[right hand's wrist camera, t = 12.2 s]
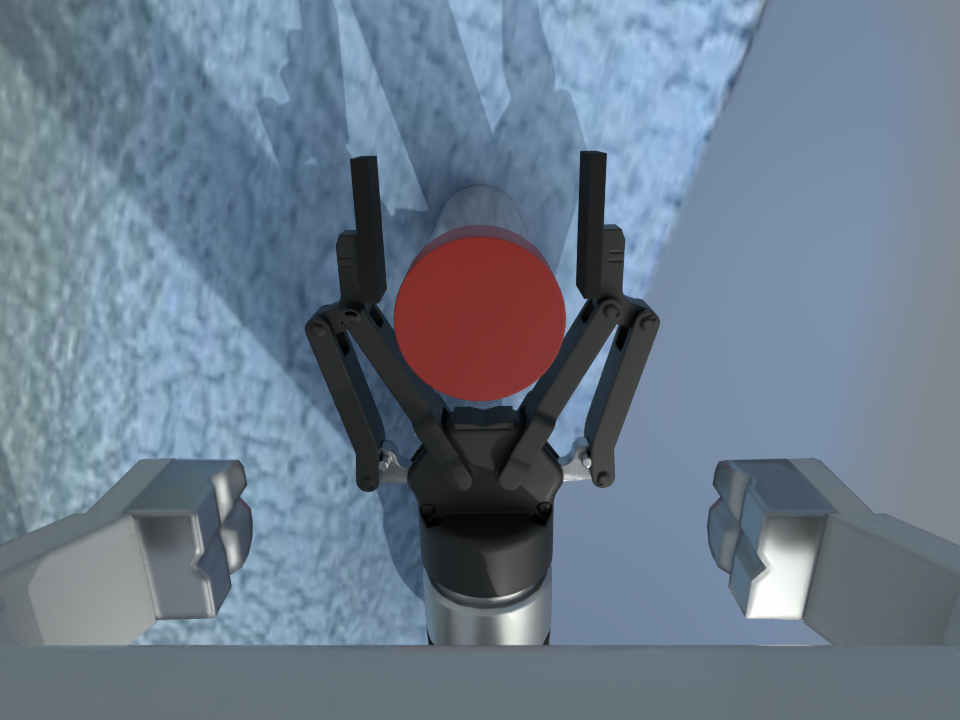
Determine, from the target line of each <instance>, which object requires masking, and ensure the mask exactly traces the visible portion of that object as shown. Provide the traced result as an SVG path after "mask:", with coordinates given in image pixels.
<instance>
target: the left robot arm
mask: <svg viewBox="0 0 960 720" xmlns="http://www.w3.org/2000/svg"><path fill="white" fill-rule="evenodd" d="M606 161H607V153H603V152H599V151H580V177H579V208H578V239H577V270H576V286H577V288H578V289H579V291H580V293H581V294H582V296H583V298H584V299H587V301H586V303H585V304H584V306H583V308H582V309H581V311H580V313H579V314H578V316H577V318H576V319H575V321H574V322H573V324H572V326H571V327H570V329H569V331H568V332H567V334H566V336H565V337H564V339H563V341H562V344H561V347H560V349H559V352H558V354H557V356H556V358H555V359H554V361H553V363H552V364H551V366H550V367H549V368H548V369H547V370H546V372H545V373H544V374H543V375H542V376H541V377H540V378H539V380H538V382H537V383H536V385H535V387H534V388H533V390H532V391H529V392H528V394H527V395H526V397H525V398H524V400H523V402H522V403H521V405H520V406H519V408H518V410H517V411H516V410H513V407H512V406H497V407H493V408H490V409H486V410H482V409H477V408H473V407H455V411H452V412H451V411H450V410H449V408H448V407H447V405H446V404H445V402H444V401H443V399H442V398H441V396H440V395H439V394H438V393H436V392H435V391H434V390H433V389H432V387H431V386H430V385H428V384H427V383H425V382H424V381H423V380H422V379H421V378H420V377H418V375H417V374H416V373H415V372H414V371H413V370H412V369H411V367H410V366H409V365H408V363H407V362H406V360H405V358H404V356H403V355H402V353H401V351H400V348H399V345H398V342H397V339H396V334H395V332H394V330H393V329H392V327H391V326H390V324H389V323H388V321H387V320H386V318H385V317H384V315H383V314H382V312H381V311H380V309H379V308H378V306H377V305H376V303H379V302H380V300H381V299H382V297H383V295H384V293H385V291H386V290H387V286H386V272H385V259H384V246H383V233H382V219H381V206H380V193H379V180H378V166H377V156H360V157H356V158H353V159H350V164H351V175H352V186H353V197H354V208H355V220H356V230H345V231H344V232H342V233H341V234H340V235H339V237H338V241H337V244H336V252H337V261H338V271H339V281H340V291H341V299H340V301H338V302H336V303H333V304H331V305H324V306H322V307H320V308H319V309H318V311H317V312H316V313H315V314H314V315H313V316H312V318H311V319H310V320H309V321H308V322H307V324H306V326H305V332H306V335H307V338H308V340H309V342H310V345H311V347H312V350H313V352H314V354H315V357H316V359H317V362H318V364H319V366H320V369H321V371H322V374H323V376H324V378H325V381H326V383H327V386H328V388H329V390H330V393H331V395H332V398H333V400H334V402H335V405H336V407H337V410H338V412H339V414H340V417H341V419H342V422H343V424H344V426H345V429H346V431H347V433H348V436H349V438H350V441H351V443H352V445H353V448H354V450H355V453H356V482H357V486H358V487H359V488H360V489H361V490H363V491H366V492H371V491H374V490H376V488H377V487H378V485H379V482H380V483H400V484H408V486H409V488H410V489H411V491H412V492H413V493H414V495H415V497H416V499H417V502H418V509H419V524H420V539H421V555H422V563H423V565H424V569H423V586H424V599H425V611H426V623H427V636H428V645H549V637H550V624H551V602H552V567H551V561H552V552H553V507H554V498H555V495H556V493H557V491H558V490H559V488H560V487H561V485H562V483H563V481H572V480H584V479H592V481H593V483H594V484H595V485H596V486H597V487H600V488H605V487H608V486H610V485H611V484H612V483H613V482H614V479H615V466H614V448H615V445H616V442H617V440H618V437H619V434H620V431H621V429H622V426H623V423H624V421H625V418H626V415H627V412H628V410H629V407H630V404H631V402H632V399H633V396H634V393H635V391H636V388H637V385H638V383H639V380H640V377H641V374H642V372H643V369H644V366H645V364H646V361H647V358H648V356H649V353H650V350H651V347H652V345H653V342H654V339H655V337H656V334H657V331H658V328H659V325H660V320H659V317H658V316H657V315H656V314H655V312H654V311H653V310H652V309H651V308H650V307H649V306H648V305H647V304H646V303H645V302H644V301H643V300H641V299H634V298H631V297H628V296H625V295H623V291H622V285H623V268H624V251H625V238H624V235H623V232H622V229H621V228H620V227H618V226H617V225H616V224H609V225H604V204H605V183H606ZM616 324H619V325H618V328H617V331H616V334H615V337H614V340H613V343H612V345H611V348H610V351H609V354H608V357H607V360H606V363H605V366H604V369H603V372H602V374H601V377H600V380H599V383H598V386H597V389H596V392H595V395H594V398H593V401H592V403H591V406H590V409H589V412H588V415H587V418H586V422H585V428H584V437H578V438H577V439H576V441H574V443H573V444H572V448H571V451H570V453H569V454H567V455H566V456H564V457H559V456H558V454H557V453H556V452H555V450H554V449H553V448H552V447H551V446H550V444H549V443H548V442H547V439H548V438H549V436H550V435H551V433H552V431H553V429H554V427H555V423H556V420H557V418H558V416H559V414H560V413H561V411H562V410H563V408H564V406H565V405H566V403H567V402H568V400H569V399H570V397H571V395H572V394H573V392H574V391H575V389H576V388H577V386H578V384H579V383H580V381H581V380H582V378H583V377H584V375H585V373H586V372H587V370H588V369H589V367H590V365H591V364H592V362H593V361H594V359H595V358H596V356H597V354H598V353H599V351H600V350H601V348H602V347H603V345H604V343H605V342H606V340H607V339H608V337H609V336H610V334H611V332H612V331H613V329H614V328H615V326H616ZM347 329H348V331H349V332H350V334H351V335H352V337H353V338H354V339H355V341H356V342H357V344H358V345H359V347H360V348H361V350H362V351H363V352H364V354H365V355H366V357H367V358H368V360H369V361H370V363H371V364H372V365H373V367H374V368H375V370H376V371H377V373H378V374H379V375H380V377H381V378H382V380H383V381H384V383H385V384H386V386H387V387H388V388H389V390H390V391H391V393H392V394H393V396H394V397H395V399H396V400H397V401H398V403H399V404H400V406H401V407H402V409H403V410H404V412H405V413H406V414H407V416H408V417H409V419H410V420H411V422H412V424H413V428H414V431H415V433H416V434H417V436H418V438H419V439H420V440H421V442H422V445H421V446H420V447H419V449H418V450H417V451H416V453H415V454H414V456H413V457H412V458H411V460H408V459H405V458H403V457H402V456H400V454H399V452H398V448H397V446H396V445H395V444H394V443H393V442H392V441H390V440H387V441H385V431H384V426H383V423H382V420H381V417H380V415H379V412H378V410H377V407H376V405H375V402H374V400H373V397H372V395H371V392H370V389H369V387H368V384H367V382H366V379H365V377H364V374H363V372H362V369H361V366H360V364H359V361H358V359H357V356H356V354H355V351H354V349H353V346H352V344H351V341H350V338H349V336H348V333H347V331H346V330H347Z"/></svg>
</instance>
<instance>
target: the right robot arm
mask: <svg viewBox="0 0 960 720" xmlns="http://www.w3.org/2000/svg"><path fill="white" fill-rule="evenodd" d="M246 486H247V480H246V475H245V470H244V466H243V465H242V463H241V462H240V461H239V460H216V459H175V458H160V459H143V460H139V461H138V462H137V463H136V464H135V465H134V466H133V467H132V468H131V469H130V470H129V471H128V472H127V473H126V474H125V475H124V476H123V477H122V478H121V479H120V480H119V481H118V482H117V483H116V484H115V485H114V486H113V487H112V488H111V489H110V490H109V491H108V492H107V493H106V494H105V495H104V496H103V497H102V498H101V499H100V500H99V501H98V502H97V503H96V504H94V505H93V506H92V507H91V508H90V509H89V510H88V511H87V512H86V513H85V514H73V515H70V516H68V517H66V518H63V519H61V520H59V521H56V522H54V523H51V524H49V525H47V526H44V527H42V528H40V529H37V530H35V531H33V532H30V533H28V534H26V535H23V536H21V537H18V538H16V539H14V540H11V541H9V542H7V543H4V544H2V545H0V720H960V545H958V544H956V543H953V542H951V541H948V540H946V539H944V538H941V537H939V536H937V535H934V534H932V533H930V532H927V531H925V530H922V529H920V528H918V527H916V526H913V525H911V524H908V523H906V522H904V521H901V520H899V519H897V518H894V517H892V516H890V515H887V514H875V513H874V512H873V511H872V510H871V509H870V508H869V507H868V506H867V505H866V504H864V502H862V501H861V500H860V499H859V498H858V497H857V496H856V495H855V494H854V493H853V492H852V491H851V490H850V489H849V488H848V487H847V486H846V485H845V484H844V483H843V482H842V481H841V480H840V479H839V478H838V477H837V476H836V475H835V474H834V473H833V472H832V471H831V470H830V469H829V468H828V467H827V466H826V465H825V464H824V463H823V462H822V461H821V460H818V459H815V458H801V459H756V460H724V461H719V462H718V465H717V467H716V470H715V474H714V480H713V486H714V487H715V489H716V490H717V492H718V494H719V495H720V498H719V499H718V500H717V501H716V502H715V503H714V504H713V505H712V506H711V507H710V508H709V514H708V523H707V531H708V543H709V547H710V550H711V553H712V556H713V558H714V560H715V562H716V564H717V566H718V567H719V568H720V569H722V570H723V571H725V572H726V573H728V574H730V580H729V586H728V587H729V589H730V591H731V593H732V594H733V596H734V598H735V600H736V602H737V603H738V605H739V607H740V609H741V611H742V613H743V615H744V616H745V618H756V619H794V620H804V623H805V624H806V625H808V626H809V627H810V628H812V629H813V630H814V631H815V632H817V633H818V634H819V635H821V636H822V637H823V638H825V639H826V640H827V641H828V642H830V643H831V644H832V645H128V644H129V643H131V642H132V641H133V640H135V639H136V638H137V637H138V636H140V635H141V634H142V633H144V632H145V631H146V630H147V629H149V628H150V627H151V626H153V625H154V624H155V623H156V620H167V619H202V618H215V617H216V615H217V613H218V611H219V609H220V607H221V605H222V604H223V602H224V600H225V598H226V596H227V594H228V593H229V591H230V589H231V587H232V586H231V580H230V574H232V573H234V572H235V571H237V570H238V569H240V568H241V567H242V566H243V564H244V562H245V560H246V558H247V556H248V554H249V550H250V545H251V541H252V534H253V521H252V513H251V508H250V507H249V506H248V505H247V504H246V503H245V502H244V501H243V500H242V499H241V498H240V495H241V494H242V492H243V490H244V489H245V487H246Z"/></svg>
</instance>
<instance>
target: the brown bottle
mask: <svg viewBox="0 0 960 720" xmlns="http://www.w3.org/2000/svg"><path fill="white" fill-rule="evenodd" d="M469 225H491V226H497V227H501V228H505V229H507V230H510V231H512V232H514V233H516V234H518V235H520V236H522V237H523V238H525V239H526V240H527V241H529V242H530V243H531V240H530V238H529V236H528V233H527V231H526V229H525V226H524V224H523V222H522V219H521V217H520V215H519V212H518V210H517V208H516V206H515V204H514V203H513V202H512V200H511V199H510V198H509V197H508V196H507V195H506V194H504V193H503V192H501V191H500V190H498V189H495V188H493V187H489V186H483V185H476V186H470V187H467V188H464V189H462V190H460V191H458V192H457V193H455V194H454V195H453V196H452V197H451V198H450V199H449V200H448V201H447V202H446V204H445V205H444V207H443V209H442V211H441V213H440V216H439V218H438V220H437V223H436V225H435V227H434V230H433V232H432V234H431V237H430V239H429V241H428V243H430V242H431V241H432V240H433V239H435V238H436V237H438V236H440V235H441V234H443V233H445V232H448V231H450V230H452V229H455V228H459V227H462V226H469ZM531 244H532V243H531Z"/></svg>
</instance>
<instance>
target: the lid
mask: <svg viewBox="0 0 960 720" xmlns="http://www.w3.org/2000/svg"><path fill="white" fill-rule="evenodd" d="M565 326H566V312H565V304H564V300H563V296H562V293H561V290H560V288H559V285H558V283H557V281H556V279H555V277H554V275H553V273H552V271H551V269H550V267H549V265H548V263H547V261H546V260H545V258H544V257H543V256H542V254H541V253H540V252H539V251H538V250H537V249H536V248H535V247H534V246H533V245H532V244H531V243H530V242H529V241H527V240H526V239H525V238H523V237H522V236H520V235H518V234H516V233H514V232H512V231H510V230H507V229H505V228H501V227H497V226H491V225H469V226H462V227H459V228H455V229H452V230H450V231H448V232H445V233H443V234H441V235H440V236H438V237H436V238H435V239H433V240H432V241H431V242H430V243H428V244H427V245H426V246H425V247H424V248H423V249H422V250H421V251H420V252H419V254H418V255H417V256H416V258H415V259H414V261H413V262H412V264H411V266H410V268H409V270H408V272H407V274H406V276H405V278H404V280H403V282H402V285H401V287H400V289H399V292H398V295H397V298H396V303H395V308H394V330H395V334H396V339H397V342H398V345H399V348H400V351H401V353H402V355H403V356H404V358H405V360H406V362H407V363H408V365H409V366H410V367H411V369H412V370H413V371H414V372H415V373H416V374H417V375H418V377H420V378H421V379H422V380H423V381H424V382H425V383H427V384H428V385H430V386H431V387H433V388H434V389H436V390H438V391H440V392H442V393H444V394H446V395H449V396H452V397H455V398H459V399H463V400H471V401H489V400H496V399H501V398H504V397H508V396H511V395H513V394H516V393H518V392H520V391H522V390H523V389H525V388H527V387H529V386H530V385H531V384H533V383H534V382H535V381H537V380H538V379H539V378H540V377H541V376H542V375H543V374H544V373H545V372H546V370H547V369H548V368H549V367H550V366H551V364H552V363H553V361H554V359H555V358H556V356H557V354H558V352H559V349H560V347H561V344H562V341H563V338H564V332H565Z"/></svg>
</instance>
